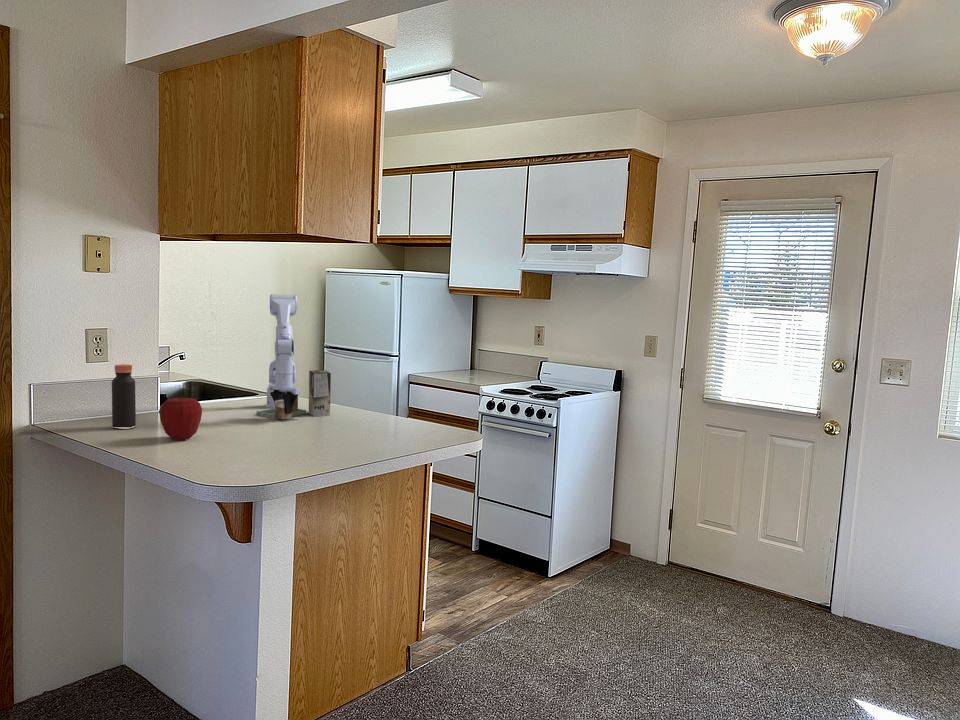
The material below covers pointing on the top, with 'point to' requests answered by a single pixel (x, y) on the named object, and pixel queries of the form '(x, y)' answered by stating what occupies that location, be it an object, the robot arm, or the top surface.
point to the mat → (283, 419)
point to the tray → (271, 413)
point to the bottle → (123, 397)
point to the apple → (180, 417)
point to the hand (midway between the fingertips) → (283, 412)
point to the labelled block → (281, 410)
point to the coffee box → (319, 392)
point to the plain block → (295, 405)
